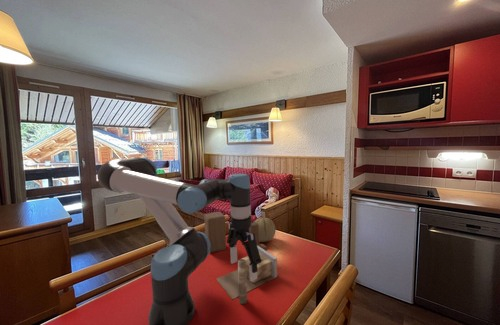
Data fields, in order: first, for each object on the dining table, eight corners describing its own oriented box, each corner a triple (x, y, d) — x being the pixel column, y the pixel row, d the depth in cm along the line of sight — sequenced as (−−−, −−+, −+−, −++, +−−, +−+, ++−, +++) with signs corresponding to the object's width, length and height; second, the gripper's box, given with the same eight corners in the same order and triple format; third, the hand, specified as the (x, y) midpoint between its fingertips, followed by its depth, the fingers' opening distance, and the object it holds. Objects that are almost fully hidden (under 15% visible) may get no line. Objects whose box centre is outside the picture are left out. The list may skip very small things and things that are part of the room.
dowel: (241, 305, 77) (240, 264, 75) (237, 300, 80) (236, 260, 78) (248, 301, 79) (247, 261, 77) (244, 296, 81) (243, 258, 80)
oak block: (253, 283, 88) (253, 269, 87) (241, 271, 96) (240, 258, 96) (271, 274, 94) (271, 261, 93) (258, 264, 102) (258, 252, 101)
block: (205, 246, 123) (203, 213, 121) (221, 242, 127) (220, 210, 125) (209, 253, 114) (207, 218, 112) (226, 249, 118) (225, 215, 116)
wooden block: (263, 251, 115) (262, 220, 114) (267, 255, 111) (266, 223, 109) (248, 254, 112) (247, 222, 110) (251, 259, 108) (250, 225, 106)
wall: (274, 278, 92) (274, 259, 91) (254, 262, 104) (254, 245, 103) (276, 277, 93) (276, 258, 92) (257, 261, 105) (256, 244, 104)
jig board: (232, 299, 80) (232, 299, 80) (215, 279, 92) (215, 278, 92) (278, 276, 93) (278, 275, 93) (258, 261, 106) (258, 260, 106)
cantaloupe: (264, 249, 117) (263, 223, 116) (247, 240, 128) (246, 217, 127) (280, 240, 127) (280, 217, 126) (263, 233, 138) (263, 211, 137)
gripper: (270, 223, 68) (272, 284, 70) (233, 206, 88) (235, 253, 90) (252, 229, 64) (254, 293, 65) (217, 209, 84) (219, 259, 86)
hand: (243, 270), depth 78 cm, fingers open, 13 cm apart
